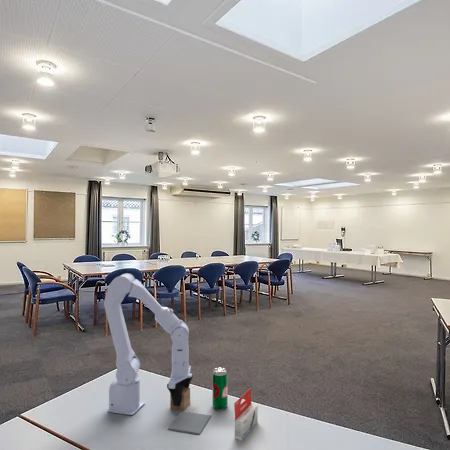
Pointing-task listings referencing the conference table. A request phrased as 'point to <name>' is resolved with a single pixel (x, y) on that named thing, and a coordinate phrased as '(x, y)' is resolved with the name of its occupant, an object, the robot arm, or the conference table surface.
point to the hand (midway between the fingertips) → (180, 401)
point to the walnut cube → (182, 400)
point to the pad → (189, 422)
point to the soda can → (219, 388)
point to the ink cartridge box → (244, 416)
